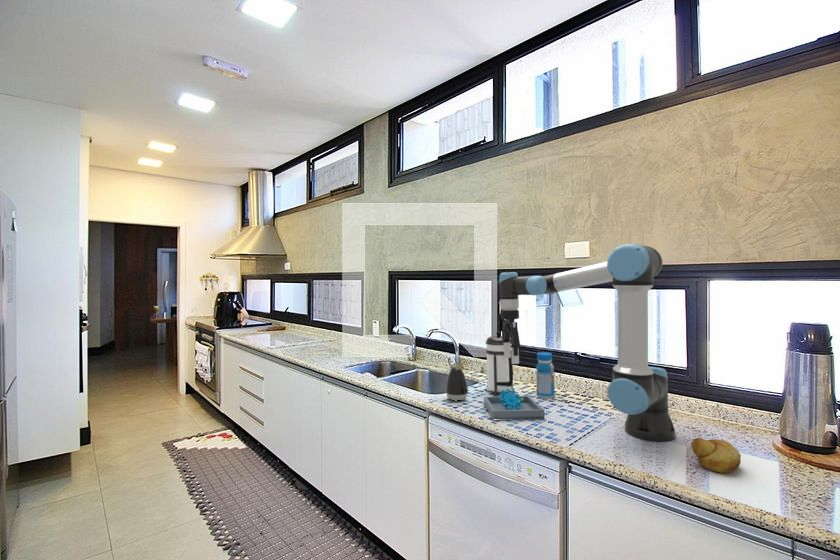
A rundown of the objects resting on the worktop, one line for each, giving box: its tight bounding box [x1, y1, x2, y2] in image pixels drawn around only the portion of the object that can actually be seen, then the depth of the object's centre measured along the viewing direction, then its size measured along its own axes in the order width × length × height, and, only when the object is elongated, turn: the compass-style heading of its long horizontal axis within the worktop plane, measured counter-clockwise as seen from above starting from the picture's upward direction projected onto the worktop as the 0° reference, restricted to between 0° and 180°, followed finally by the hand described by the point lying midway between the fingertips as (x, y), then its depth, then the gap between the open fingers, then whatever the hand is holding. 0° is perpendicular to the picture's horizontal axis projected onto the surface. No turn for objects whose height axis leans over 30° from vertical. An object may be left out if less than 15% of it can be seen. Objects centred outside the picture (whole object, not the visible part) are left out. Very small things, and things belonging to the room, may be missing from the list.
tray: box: [483, 395, 545, 420], centre depth 162 cm, size 20×20×4 cm
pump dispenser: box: [445, 366, 469, 401], centre depth 181 cm, size 10×10×15 cm
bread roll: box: [690, 437, 742, 474], centre depth 110 cm, size 13×10×8 cm
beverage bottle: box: [535, 351, 556, 399], centre depth 183 cm, size 8×8×20 cm
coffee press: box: [484, 330, 516, 397], centre depth 190 cm, size 17×16×30 cm
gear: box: [498, 389, 524, 410], centre depth 163 cm, size 11×6×10 cm
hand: (511, 360), depth 162 cm, fingers open, 13 cm apart
